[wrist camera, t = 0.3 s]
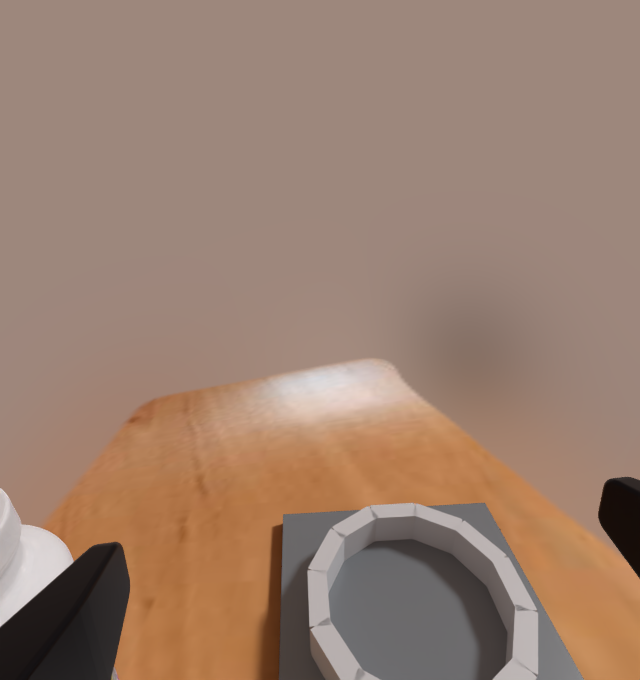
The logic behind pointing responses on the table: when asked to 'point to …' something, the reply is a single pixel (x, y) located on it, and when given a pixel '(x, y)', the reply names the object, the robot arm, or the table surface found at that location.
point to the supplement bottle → (26, 561)
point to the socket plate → (410, 599)
